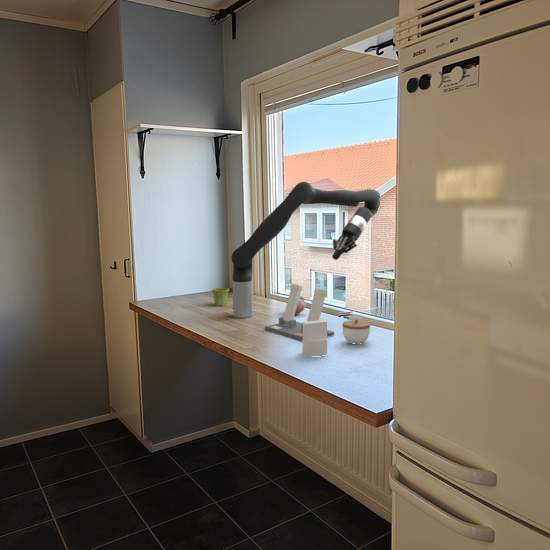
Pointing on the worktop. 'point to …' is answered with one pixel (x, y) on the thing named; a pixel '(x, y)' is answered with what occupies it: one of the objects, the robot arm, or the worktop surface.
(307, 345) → the white rectangular block
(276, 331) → the switch base
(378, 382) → the worktop surface
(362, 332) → the lidded jar
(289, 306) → the lever unmarked
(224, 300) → the plant pot
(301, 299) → the decorative fruit
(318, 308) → the lever marked
